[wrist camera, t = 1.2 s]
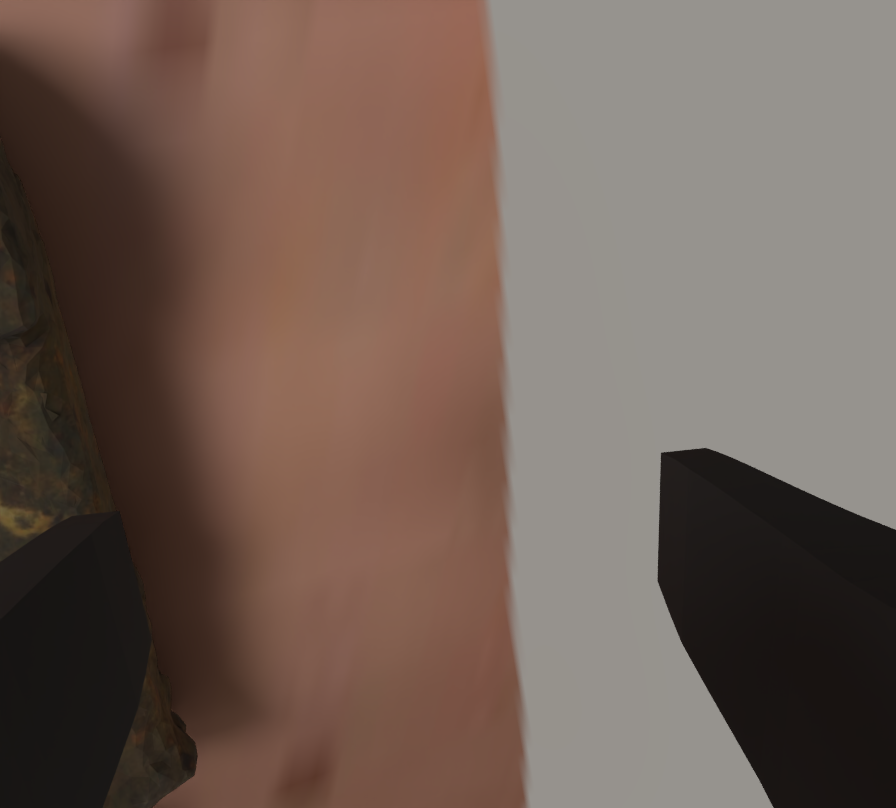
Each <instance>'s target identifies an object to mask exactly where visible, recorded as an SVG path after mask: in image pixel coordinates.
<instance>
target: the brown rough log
mask: <svg viewBox="0 0 896 808" xmlns="http://www.w3.org/2000/svg"><path fill="white" fill-rule="evenodd" d="M114 511H116V508H115V505H114V502H113V498H112V495H111V492H110V488H109V484H108V481H107V477H106V473H105V470H104V466H103V463H102V459H101V456H100V453H99V449H98V446H97V442H96V439H95V435H94V432H93V429H92V425H91V422H90V418H89V414H88V409H87V404H86V399H85V396H84V392H83V389H82V385H81V381H80V378H79V374H78V371H77V367H76V364H75V361H74V357H73V353H72V350H71V346H70V342H69V339H68V335H67V332H66V328H65V325H64V322H63V318H62V315H61V312H60V308H59V305H58V302H57V298H56V292H55V286H54V281H53V275H52V271H51V268H50V264H49V261H48V257H47V254H46V250H45V247H44V243H43V241H42V239H41V236H40V233H39V230H38V227H37V224H36V221H35V218H34V215H33V213H32V210H31V207H30V205H29V202H28V199H27V197H26V194H25V191H24V189H23V186H22V183H21V180H19V177H18V175H16V174H15V173H13V171H12V169H11V167H10V165H9V162H8V160H7V158H6V154H5V150H4V146H3V142H2V139H1V137H0V562H1V561H2V560H4V559H5V558H7V557H8V556H9V555H11V554H12V553H14V552H15V551H17V550H18V549H19V548H21V547H22V546H24V545H25V544H27V543H28V542H30V541H31V540H33V539H34V538H36V537H37V536H39V535H40V534H42V533H43V532H45V531H46V530H48V529H50V528H51V527H53V526H54V525H56V524H58V523H59V522H61V521H63V520H65V519H67V518H69V517H71V516H76V515H86V514H95V513H104V512H114ZM132 563H133V562H132ZM133 567H134V571H135V575H136V579H137V583H138V587H139V591H140V594H141V598H142V602H143V606H144V610H145V614H146V618H147V622H148V626H149V630H150V634H151V638H152V626H151V623H150V620H149V617H148V614H147V612H146V605H145V599H146V598H145V593H144V585H143V582H142V579H141V577H140V575H139V573H138V571H137V569H136V567H135V566H134V564H133ZM185 732H186V725H185V723H184V722H183V721H182V720H181V718H180V717H179V716H178V715H177V714H176V713H174V712H172V711H171V684H170V681H169V678H168V677H167V676H164V675H162V674H161V673H160V671H159V669H158V667H157V656H156V652H155V648H154V643H153V640H152V641H151V647H150V652H149V658H148V663H147V668H146V674H145V679H144V683H143V688H142V692H141V697H140V701H139V706H138V709H137V712H136V715H135V718H134V721H133V724H132V727H131V730H130V733H129V736H128V738H127V741H126V744H125V747H124V750H123V753H122V755H121V758H120V761H119V764H118V767H117V769H116V772H115V775H114V778H113V780H112V783H111V786H110V789H109V791H108V794H107V797H106V800H105V802H104V805H103V808H152V807H153V806H154V805H155V804H156V803H157V802H158V801H159V800H160V799H162V798H163V797H164V796H166V795H167V794H168V793H170V792H172V791H173V790H175V789H176V788H177V787H179V786H180V785H181V784H183V783H184V782H186V781H187V780H189V779H190V778H191V777H193V776H194V775H195V771H196V764H197V757H198V756H197V750H196V745H195V742H194V741H193V740H192V739H191V738H190V737H189V736H188V735H187V734H186V733H185Z"/></svg>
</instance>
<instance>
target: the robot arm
mask: <svg viewBox="0 0 896 808" xmlns="http://www.w3.org/2000/svg"><path fill="white" fill-rule="evenodd" d="M658 583H659V586H660V588H661V591H662V594H663V596H664V599H665V602H666V604H667V607H668V610H669V612H670V615H671V618H672V620H673V622H674V625H675V627H676V630H677V632H678V635H679V637H680V640H681V642H682V644H683V646H684V647H685V649H686V651H687V653H688V655H689V657H690V659H691V660H692V662H693V664H694V666H695V668H696V669H697V671H698V673H699V675H700V676H701V678H702V680H703V682H704V684H705V685H706V687H707V689H708V691H709V693H710V694H711V696H712V698H713V699H714V701H715V703H716V705H717V707H718V708H719V710H720V712H721V714H722V715H723V717H724V718H725V721H726V722H727V724H728V726H729V728H730V729H731V731H732V733H733V734H734V736H735V738H736V740H737V742H738V743H739V745H740V746H741V749H742V750H743V752H744V754H745V755H746V757H747V759H748V761H749V762H750V764H751V766H752V768H753V770H754V771H755V773H756V775H757V777H758V778H759V780H760V782H761V784H762V786H763V788H764V790H765V792H766V794H767V796H768V798H769V799H770V802H771V803H772V805H773V807H774V808H896V530H895V529H892V528H890V527H887V526H885V525H882V524H880V523H877V522H875V521H872V520H869V519H867V518H865V517H862V516H859V515H857V514H855V513H852V512H850V511H848V510H845V509H843V508H841V507H838V506H836V505H834V504H831V503H829V502H827V501H825V500H823V499H820V498H818V497H816V496H814V495H812V494H809V493H807V492H805V491H803V490H800V489H798V488H796V487H794V486H792V485H790V484H788V483H786V482H783V481H781V480H779V479H777V478H775V477H772V476H771V475H768V474H766V473H764V472H762V471H760V470H758V469H755V468H753V467H751V466H749V465H747V464H745V463H742V462H740V461H738V460H736V459H733V458H731V457H729V456H726V455H724V454H721V453H719V452H716V451H713V450H710V449H707V448H702V449H692V450H683V451H674V452H664V453H661V477H660V514H659V550H658ZM151 641H152V638H151V634H150V630H149V626H148V622H147V618H146V614H145V610H144V606H143V602H142V598H141V594H140V591H139V587H138V583H137V579H136V575H135V571H134V567H133V563H132V559H131V555H130V551H129V547H128V543H127V539H126V535H125V531H124V528H123V524H122V520H121V516H120V512H119V511H114V512H104V513H95V514H86V515H76V516H71V517H69V518H67V519H65V520H63V521H61V522H59V523H58V524H56V525H54V526H53V527H51V528H50V529H48V530H46V531H45V532H43V533H42V534H40V535H39V536H37V537H36V538H34V539H33V540H31V541H30V542H28V543H27V544H25V545H24V546H22V547H21V548H19V549H18V550H17V551H15V552H14V553H12V554H11V555H9V556H8V557H7V558H5V559H4V560H2V561H1V562H0V808H103V805H104V802H105V800H106V797H107V794H108V791H109V789H110V786H111V783H112V780H113V778H114V775H115V772H116V769H117V767H118V764H119V761H120V758H121V755H122V753H123V750H124V747H125V744H126V741H127V738H128V736H129V733H130V730H131V727H132V724H133V721H134V718H135V715H136V712H137V709H138V706H139V701H140V697H141V692H142V688H143V683H144V679H145V674H146V668H147V663H148V658H149V652H150V647H151Z"/></svg>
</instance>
